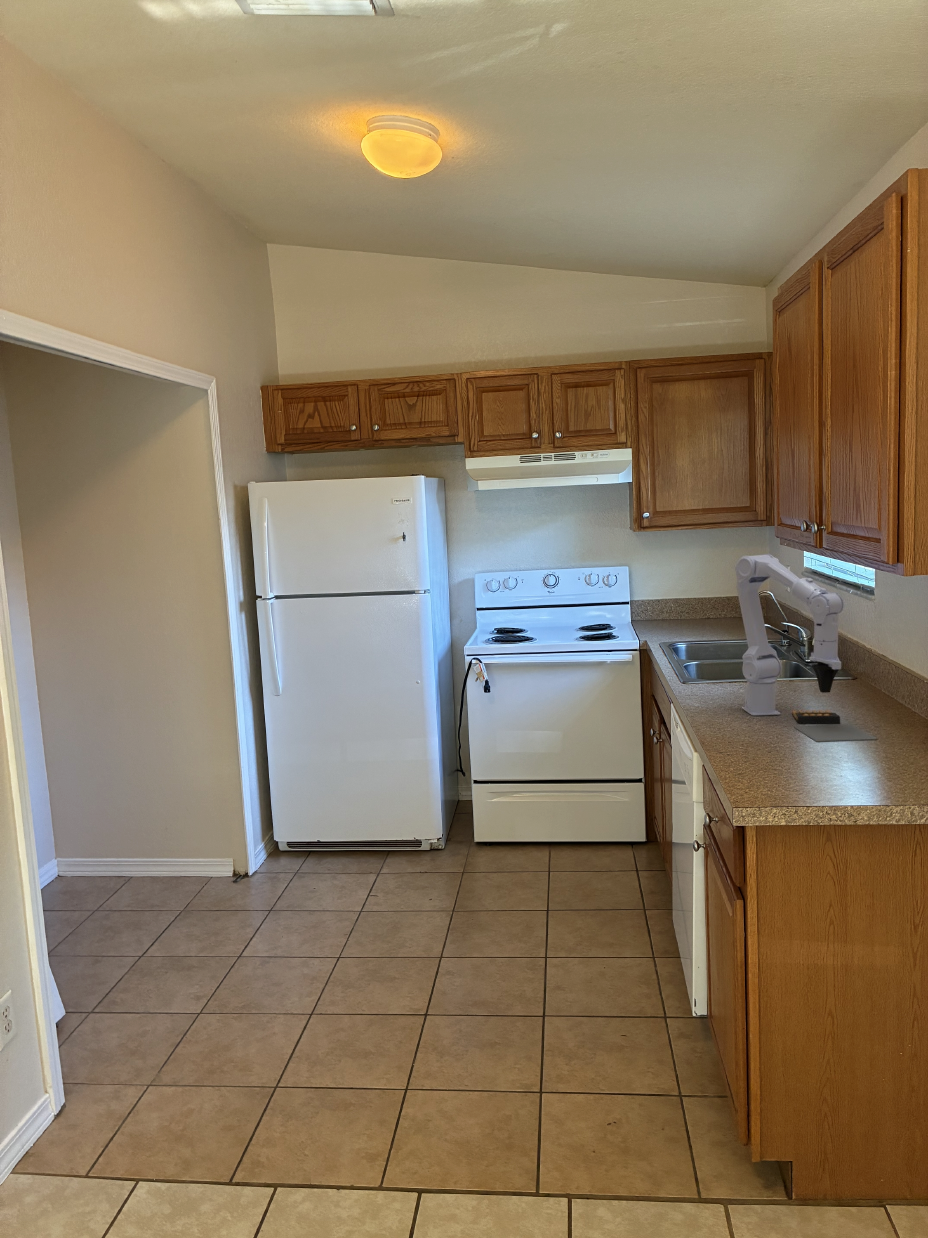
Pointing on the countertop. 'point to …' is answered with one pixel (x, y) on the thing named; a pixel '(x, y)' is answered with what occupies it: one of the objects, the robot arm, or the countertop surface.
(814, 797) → the countertop surface
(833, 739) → the mat
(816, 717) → the ammunition clip
